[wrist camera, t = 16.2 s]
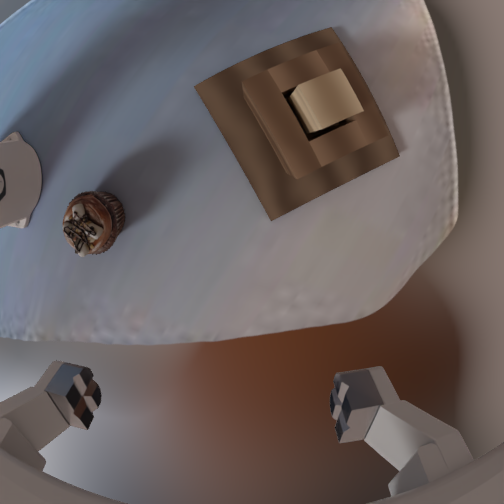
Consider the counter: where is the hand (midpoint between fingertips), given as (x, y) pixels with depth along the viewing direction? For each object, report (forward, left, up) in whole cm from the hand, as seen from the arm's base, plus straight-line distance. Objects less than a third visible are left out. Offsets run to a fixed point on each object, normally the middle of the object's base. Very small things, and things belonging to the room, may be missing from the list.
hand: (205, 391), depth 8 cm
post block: (+9, +12, -34) cm, 37 cm away
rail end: (+9, +12, -30) cm, 33 cm away
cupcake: (-22, -1, -34) cm, 41 cm away
